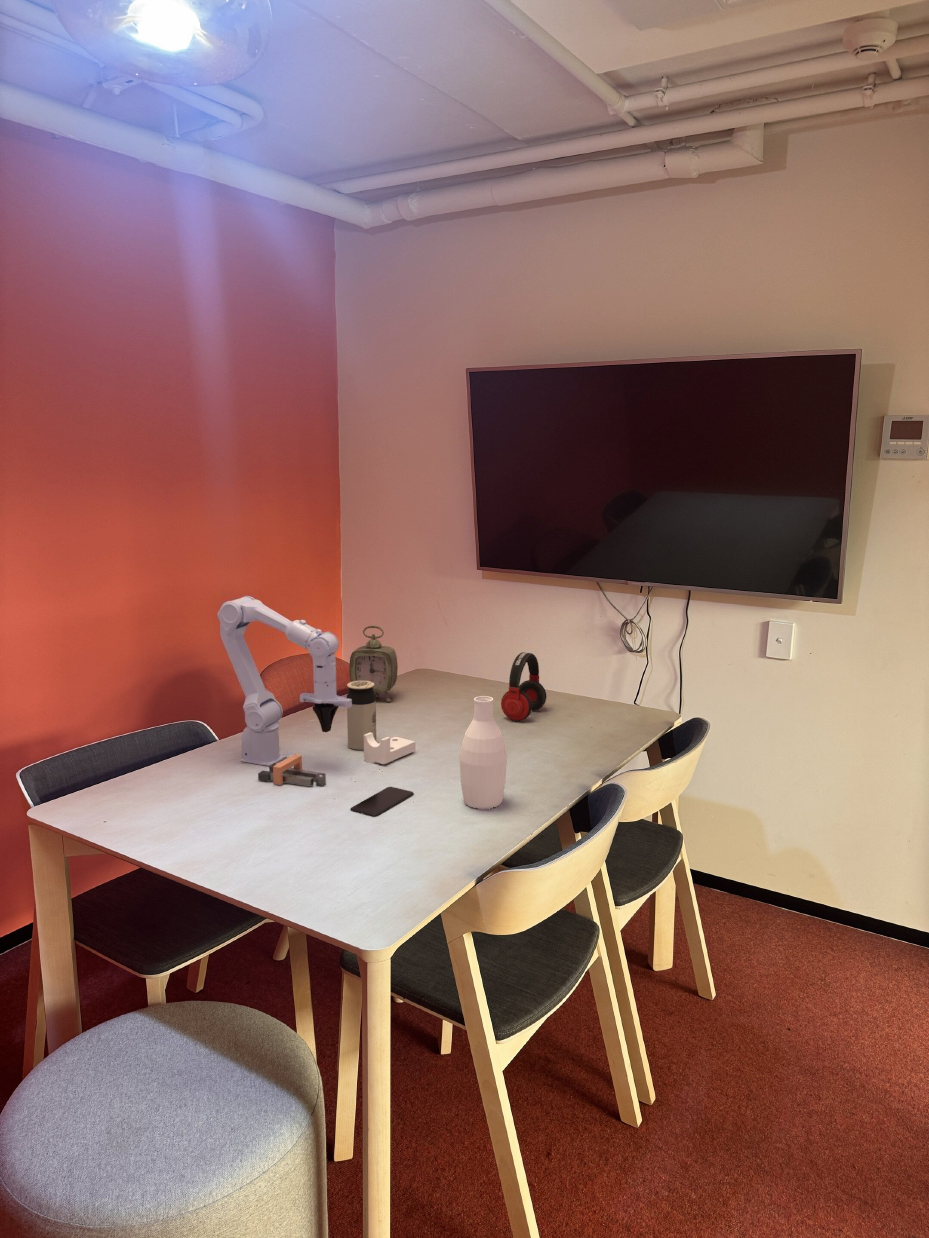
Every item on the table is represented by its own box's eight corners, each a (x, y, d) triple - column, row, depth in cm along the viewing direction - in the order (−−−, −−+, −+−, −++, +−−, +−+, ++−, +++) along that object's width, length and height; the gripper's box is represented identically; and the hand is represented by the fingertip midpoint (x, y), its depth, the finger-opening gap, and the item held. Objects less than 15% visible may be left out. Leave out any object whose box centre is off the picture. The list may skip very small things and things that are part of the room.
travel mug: (342, 748, 241) (340, 686, 238) (356, 739, 249) (355, 679, 245) (368, 752, 239) (366, 689, 235) (381, 743, 246) (380, 681, 242)
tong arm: (314, 783, 215) (313, 777, 215) (309, 787, 213) (309, 780, 213) (263, 776, 220) (262, 770, 220) (258, 779, 218) (258, 773, 217)
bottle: (452, 797, 208) (452, 694, 203) (494, 790, 212) (495, 689, 207) (470, 815, 198) (471, 707, 193) (514, 807, 202) (516, 702, 197)
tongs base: (331, 781, 218) (331, 771, 217) (322, 787, 214) (322, 777, 213) (274, 771, 224) (274, 761, 224) (264, 776, 221) (264, 767, 220)
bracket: (384, 767, 228) (383, 740, 226) (364, 761, 232) (363, 734, 231) (415, 753, 238) (415, 727, 237) (395, 748, 242) (395, 722, 241)
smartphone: (375, 819, 197) (415, 795, 210) (375, 815, 196) (415, 791, 210) (348, 812, 201) (389, 788, 214) (348, 808, 200) (389, 785, 214)
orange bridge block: (302, 771, 223) (301, 755, 222) (280, 784, 215) (279, 767, 214) (295, 770, 224) (295, 754, 223) (273, 783, 215) (273, 766, 214)
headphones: (527, 725, 262) (528, 661, 258) (497, 720, 266) (498, 657, 262) (549, 710, 277) (550, 649, 273) (520, 706, 282) (521, 645, 278)
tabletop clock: (350, 702, 286) (348, 627, 281) (357, 694, 294) (356, 622, 290) (392, 704, 283) (391, 629, 278) (399, 696, 292) (398, 623, 287)
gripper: (292, 681, 222) (294, 731, 225) (341, 687, 216) (342, 739, 219) (307, 674, 228) (309, 724, 231) (355, 680, 223) (356, 731, 225)
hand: (326, 730), depth 225 cm, fingers closed
